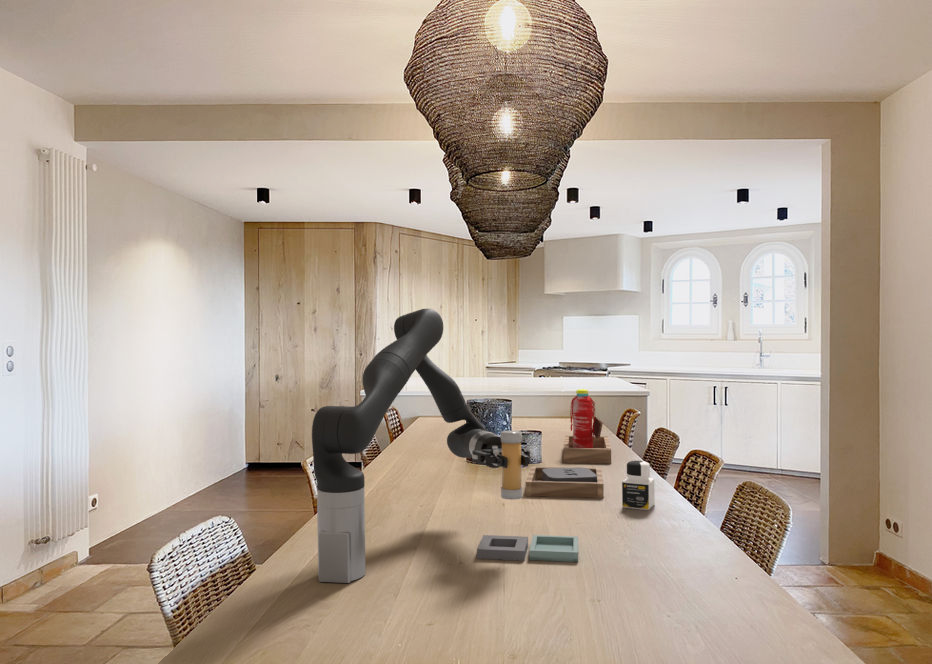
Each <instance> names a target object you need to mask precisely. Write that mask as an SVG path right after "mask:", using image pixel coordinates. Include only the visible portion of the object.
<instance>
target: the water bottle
mask: <svg viewBox="0 0 932 664" xmlns="http://www.w3.org/2000/svg"><path fill="white" fill-rule="evenodd" d="M575 392H576V395H575V397H573V398H572V400H571V403H570V409H571V410H570V412H569V413H570V415H569V416H570V432H572V436H573V448H593V440H594V436H595V437H596V438H598V437H599V438H600V436H601V432H602V430H603V424H604V422H602V421H601V420H600V419H598V418H597V417H596V416H595V412H596V401H594V400H593V399H592V397H590V396H589V390H588V389H584V388H583V389H582V388H580V389H577V390H576V391H575Z"/></svg>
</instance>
